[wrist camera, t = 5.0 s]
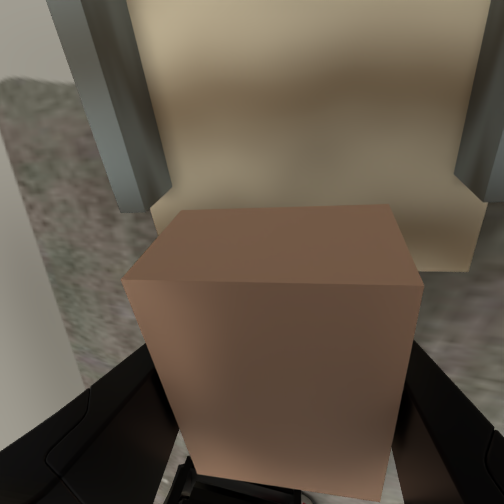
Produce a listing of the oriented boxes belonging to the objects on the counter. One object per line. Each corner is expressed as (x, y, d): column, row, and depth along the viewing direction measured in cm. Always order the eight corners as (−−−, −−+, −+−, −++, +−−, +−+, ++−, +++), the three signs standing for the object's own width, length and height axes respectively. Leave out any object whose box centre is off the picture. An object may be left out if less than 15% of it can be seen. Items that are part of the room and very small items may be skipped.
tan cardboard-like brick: (365, 368, 12) (384, 502, 8) (228, 358, 13) (194, 473, 9) (384, 184, 8) (431, 285, 5) (193, 192, 9) (116, 279, 6)
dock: (451, 245, 18) (495, 313, 13) (182, 246, 21) (144, 301, 17) (561, -213, 10) (775, -447, 5) (95, -93, 13) (-28, -169, 8)
